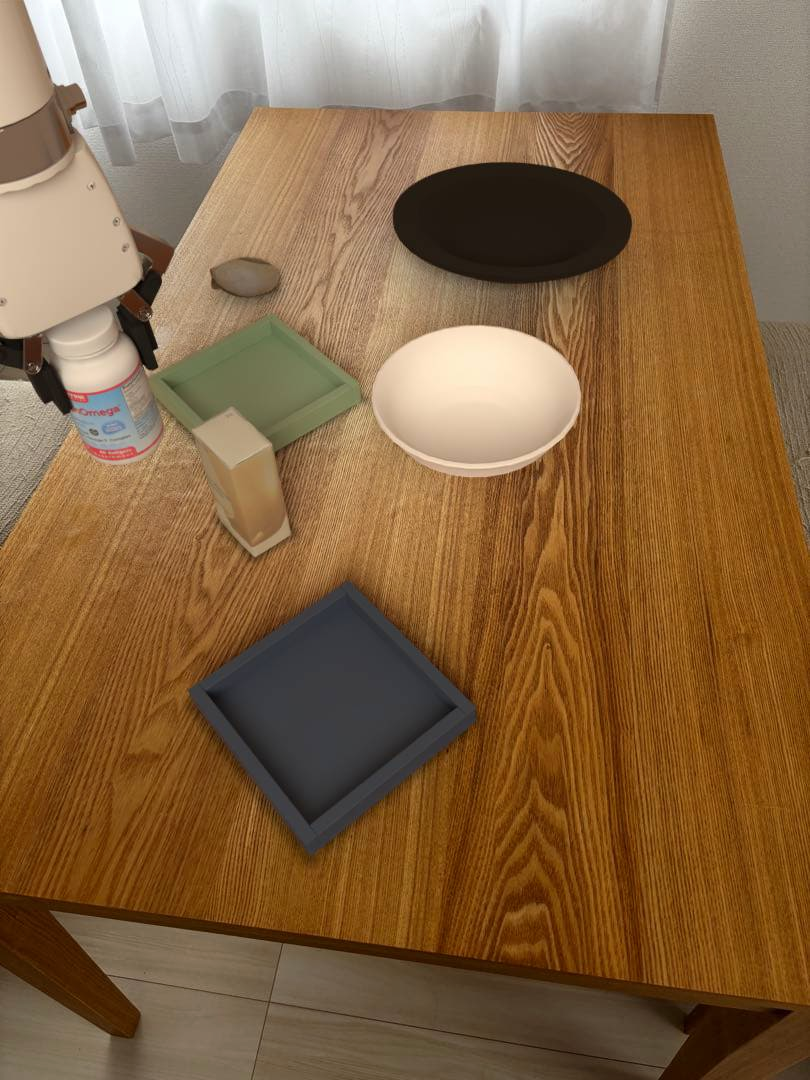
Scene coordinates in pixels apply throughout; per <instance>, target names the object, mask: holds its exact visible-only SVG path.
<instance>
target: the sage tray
mask: <svg viewBox="0 0 810 1080" xmlns="http://www.w3.org/2000/svg"><path fill="white" fill-rule="evenodd" d="M147 378H148V381H149V384H150V386H151V389H152V392H153V394H154V397H155V399H157V400H158V401H159V402H160V403H161V404H162V405H163V406H164V407H165V408H166V409H167V410H168V411H169V412H170V414H172V415H173V417H175V418H176V419H177V420H178V421H179V423H180V424H181V425H183V426H184V428H185V429H187V430H188V432H189V433H191V434H192V435H193V433H192V429H193V428H195V427H197V426H199V425H200V424H202V423H203V422H205V421H207V420H209V419H211V418H212V417H214V416H216V415H218V414H220V413H222V412H223V411H225V410H227V409H229V408H231V407H234V408H235V409H236V410H237V411H238V412H239V413H240V414H241V415H242V416H243V417H244V418H245V419H246V420H247V421H249V422H250V423H251V424H252V425H253V426H254V427H255V428H256V429H257V430H258V431H259V432H260V433H261V434H262V435H263V436H264V437H266V438H267V439H268V440H269V441H270V442H271V443H272V445H273V450H274V453H276V452H278V451H280V450H282V449H283V448H284V447H286V446H288V445H290V444H291V443H293V442H295V441H296V440H298V439H300V438H302V437H303V436H305V435H306V434H308V433H310V432H312V431H313V430H315V429H316V428H318V427H320V426H321V425H323V424H325V423H327V422H328V421H330V420H332V419H333V418H336V417H337V416H339V415H341V414H342V413H344V412H345V411H347V410H348V409H351V408H352V407H354V406H355V405H358V404H359V403H360V402H362V401H363V400H362V394H361V392H362V391H361V383H360V382H359V381H358V380H356V379H355V378H354V377H353V376H351V375H350V374H349V373H347V372H346V370H344V369H343V368H341V367H340V366H339V365H338V364H336V363H335V362H334V361H333V360H331V359H330V358H329V357H328V356H326V354H324V353H323V352H322V351H320V350H319V349H318V348H317V347H315V346H314V345H313V344H312V343H310V342H309V341H308V340H307V339H305V338H304V337H303V336H302V335H300V334H299V333H298V332H297V331H296V330H294V329H293V328H292V327H291V326H289V325H288V324H287V323H286V322H285V321H283V320H282V319H281V318H279V317H278V315H275V314H274V313H273V312H271V313H269V314H267V315H265V316H263V317H261V318H259V319H258V320H255V321H254V322H252V323H249V324H247V325H246V326H244V327H242V328H240V329H238V330H236V331H234V332H233V333H231V334H228V335H227V336H225V337H223V338H221V339H219V340H217V341H215V342H213V343H211V344H209V345H207V346H206V347H204V348H201V349H199V350H198V351H196V352H194V353H191V354H190V355H187V356H186V357H184V358H182V359H181V360H179V361H177V362H175V363H172V364H171V365H169V366H167V367H165V368H163V369H161V370H159V371H157V372H155V373H153V374H152V375H149V376H147Z"/></svg>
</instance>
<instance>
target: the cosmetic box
mask: <svg viewBox="0 0 810 1080" xmlns="http://www.w3.org/2000/svg"><path fill="white" fill-rule="evenodd" d="M192 433H193V434H192ZM192 433H191V434H192V436H193V438H194V442H195V445H196V447H197V448H196V449H197V451H198V454H199V457H200V460H201V464H202V467H203V471H204V473H205V476H206V477H205V478H206V479H207V483H208V486H209V489H210V492H211V496H212V499H213V503H214V505H215V509H216V511H217V515H218V518H219V521H220V522H221V523H222V525H223V526H224V527H225V528H226V529H227V530H228V531H229V533H231V535H232V536H233V537H234V538H235V539H236V540H237V541H238V542H239V544H240V545H241V546H243V547H244V548H245V549H246V551H248V553H249V554H251V556H253V557H254V558H257V557H258V556H260V555H261V554H263V553H264V552H266V551H269V550H270V549H272V548H273V547H274V546H276V545H278V544H279V543H281V542H283V541H284V540H285V539H287V538H289V537H290V536H292V530H291V525H290V521H289V516H288V512H287V506H286V502H285V497H284V493H283V488H282V483H281V478H280V473H279V469H278V464H277V460H276V455H275V452H274V450H273V445H272V443H271V442H270V441H269V440H268V439H267V438H266V437H264V436H263V435H262V434H261V433H260V432H259V431H258V430H257V429H256V428H255V427H254V426H253V425H252V424H251V423H250V422H249V421H247V420H246V419H245V418H244V417H243V416H242V415H241V414H240V413H239V412H238V411H237V410H236V409H235V408H234V407H231V408H229V409H227V410H225V411H223V412H222V413H220V414H218V415H216V416H214V417H212V418H211V419H209V420H207V421H205V422H203V423H202V424H200V425H199V426H197V427H195V428H193V429H192Z"/></svg>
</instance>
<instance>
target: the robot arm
mask: <svg viewBox="0 0 810 1080" xmlns="http://www.w3.org/2000/svg"><path fill="white" fill-rule="evenodd" d="M31 19H32V18H31V17H30V13H29V11H28V8H27V6H26V3H25V0H0V333H1V335H2V336H0V366H1V365H2V366H6V367H8V368H9V367H10V368H14V369H18V370H22V371H24V372H25V374H26V376H27V378H28V380H29V382H30V385H31V386H32V388H33V390H34V391H35V393H36V395H37V397H38V398H39V400H40V401H41V402H42V403H43V404H44V405H47V404H49V403H53V404H54V405H55V406H56V408H57V409H58V410H59V411H60V413H61V414H62V415H63V416H66V415H68V414H70V412H71V411H70V410H72V407H71V404H70V402H69V400H68V398H67V396H66V394H65V392H64V390H63V388H62V386H61V383H60V381H59V379H58V377H57V375H56V373H55V371H54V369H53V368H52V366H51V365H50V362H48V360H46V358H45V356H43V345H44V344H43V342H44V341H43V340H44V339H43V333H44V331H45V330H47V329H49V328H51V327H53V326H56V325H58V324H60V323H62V322H64V321H66V320H69V319H71V318H73V317H75V316H77V315H80V314H82V313H84V312H86V311H88V310H90V309H92V308H95V307H97V306H99V305H101V304H105V303H107V302H109V301H111V300H113V299H116V300H117V301H118V302H119V304H118V305H117V306H116V310H117V311H115V314H116V316H117V319H118V322H119V324H120V327H121V329H122V330H121V331H122V332H124V333H125V334H127V335H128V336H129V337H130V338H131V339H132V341H133V342H134V344H135V345H136V348H137V350H138V353H139V355H140V358H141V361H142V364H143V367H144V368H145V369H146V370H147V371H151V372H153V371H155V370H158V369H159V367H160V366H159V364H158V361H157V358H156V355H155V351H156V350H158V349H159V345H158V342H157V339H156V336H155V333H154V330H153V328H152V324H151V321H150V320H151V318H152V317H153V316H154V315H153V314H154V311H153V308H152V305H153V303H154V302H155V300H156V297H157V295H158V293H159V292H160V290H161V287H162V285H163V276H164V275H165V274H166V273H167V270H168V269H169V266H170V264H171V262H172V260H173V258H174V255H175V253H176V252H175V248H174V246H173V245H171V244H170V243H169V242H168V241H167V240H165V239H164V238H162V237H160V236H158V235H157V234H153V233H151V232H148V231H146V230H144V229H141V228H139V227H137V226H135V225H132V224H130V223H128V221H127V220H126V217H125V214H124V213H123V210H122V208H121V206H120V204H119V201H118V200H117V197H116V195H115V193H114V191H113V189H112V186H111V185H110V183H109V181H108V178H107V176H106V175H105V173H104V171H103V169H102V167H101V165H100V163H99V161H98V160H97V157H96V156H95V154H94V153H93V151H92V149H91V147H90V145H89V144H88V143H87V141H86V139H85V137H84V136H83V135H82V134H81V133H80V131H79V130H78V129H77V128H76V127H75V126H74V125H73V116H75V115H76V114H77V111H80V110H83V109H86V108H87V107H88V103H87V99H86V96H85V94H84V92H83V90H82V88H81V87H80V85H79V84H78V83H77V82H74V83H71V84H68V85H65V84H60V85H57V84H56V83H55V82H53V78H52V75H51V73H50V69H49V67H48V64H47V61H46V59H45V56H44V53H43V51H42V48H41V44H40V42H39V40H38V37H37V34H36V31H35V28H34V25H33V22H32V20H31ZM140 254H142V255H143V257H142V258H141V256H140Z"/></svg>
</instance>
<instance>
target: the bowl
mask: <svg viewBox="0 0 810 1080" xmlns="http://www.w3.org/2000/svg"><path fill="white" fill-rule="evenodd" d="M370 400H371V402H370V403H371V406H372V410H373V411H372V412H373V415H374V417H375V419H376V421H377V423H378V425H379V426H380V429H381V430H382V431H383V432H384V433H385V434H386V436H388V437H389V439H390V440H391V441H392V442H394V443H395V444H396V445H398V446H399V447H400V448H401V449H402V450H403V451H404V453H405V454H406V455H407V456H409V458H412V459H413V460H414V461H416V462H417V463H418V464H420V465H423V466H425V467H427V468H429V469H431V470H433V471H436V472H440V473H443V474H447V475H450V476H457V477H465V478H488V477H496V476H501V475H506V474H509V473H512V472H515V471H519V470H521V469H523V468H525V467H527V466H529V465H530V464H533V463H534V462H536V461H538V460H539V459H540V458H541V457H542V456H543V455H544V454H546V453H547V452H548V451H549V450H550V449H551V448H553V447H554V446H555V445H556V444H557V443H558V442H560V441H561V440H562V439H563V438H565V436H566V435H567V434H568V433H569V431H570V430H571V428H573V426H574V425H575V422H576V420H577V418H578V416H579V413H580V411H581V404H582V391H581V385H580V381H579V379H578V377H577V375H576V372H575V371H574V368H573V366H572V365H571V364H570V363H569V361H567V359H566V358H565V357H564V355H562V354H561V353H560V352H559V351H557V350H556V349H555V348H554V347H553V346H552V345H550V344H548V343H547V342H545V341H543V340H541V339H539V338H538V337H536V336H534V335H530V334H528V333H525V332H522V331H520V330H517V329H516V330H515V329H513V328H508V327H505V326H504V327H503V326H497V325H488V324H469V325H468V324H465V325H464V324H463V325H455V326H450V327H449V326H448V327H445V328H440V329H436V330H434V331H430V332H427V333H424V334H422V335H420V336H418V337H416V338H413V339H411V340H409V341H408V342H406V343H405V344H403V345H402V346H400V347H399V348H397V349H396V350H395V351H394V352H393V353H392V354H391V355H390V356H388V358H387V359H386V360H385V361H384V362H383V364H382V365H381V367H380V368H379V370H378V371H377V373H376V376H375V379H374V382H373V384H372V386H371V399H370Z"/></svg>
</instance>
